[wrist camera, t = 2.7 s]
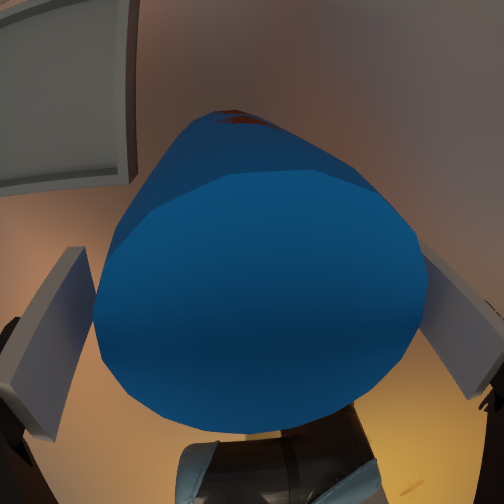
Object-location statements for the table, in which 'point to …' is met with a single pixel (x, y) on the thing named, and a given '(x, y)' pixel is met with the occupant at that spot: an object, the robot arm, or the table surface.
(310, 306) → the thermos
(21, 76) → the tray
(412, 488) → the table surface
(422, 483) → the table surface
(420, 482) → the table surface
